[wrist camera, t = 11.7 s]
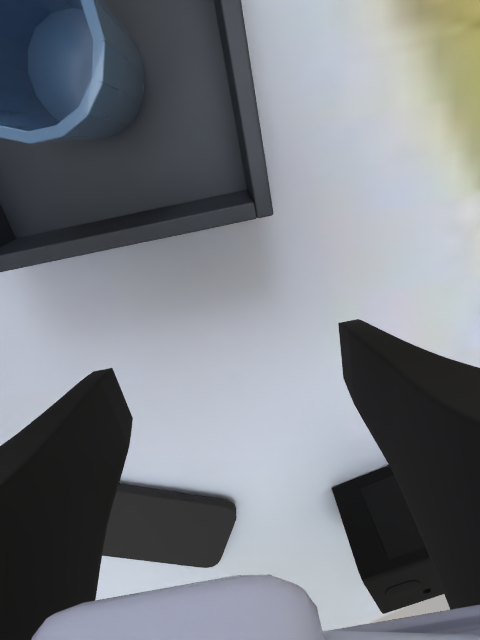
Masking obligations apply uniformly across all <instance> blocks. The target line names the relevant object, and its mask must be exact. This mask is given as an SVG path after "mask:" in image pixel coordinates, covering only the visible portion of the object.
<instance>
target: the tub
mask: <svg viewBox="0 0 480 640" xmlns="http://www.w3.org/2000/svg"><path fill="white" fill-rule="evenodd" d="M104 2H105V3H106V4H107V5H108V6H109V8H110V9H111V10H112V11H113V12H114V14H115V15H116V16H117V17H118V18H119V20H120V21H121V22H122V24H123V25H124V27H125V28H126V30H127V31H128V33H129V34H130V35H131V37H132V38H133V40H134V42H135V44H136V45H137V48H138V50H139V52H140V55H141V58H142V62H143V66H144V71H145V94H144V99H143V103H142V106H141V109H140V111H139V113H138V115H137V117H136V118H135V120H134V121H133V122H132V124H131V125H130V126H129V127H128V128H127V129H126V130H124V131H123V132H121V133H120V134H118V135H116V136H114V137H111V138H108V139H103V140H97V141H88V142H65V143H41V144H28V143H23V142H18V141H13V140H8V139H3V138H0V272H3V271H8V270H13V269H18V268H22V267H27V266H32V265H37V264H42V263H46V262H51V261H56V260H61V259H65V258H70V257H75V256H80V255H85V254H89V253H94V252H99V251H104V250H109V249H113V248H118V247H123V246H128V245H133V244H137V243H142V242H147V241H152V240H157V239H161V238H166V237H171V236H176V235H181V234H185V233H190V232H195V231H200V230H204V229H209V228H214V227H219V226H224V225H228V224H233V223H238V222H243V221H248V220H252V219H256V218H262V217H266V216H271V215H273V208H272V201H271V195H270V188H269V182H268V175H267V168H266V162H265V155H264V149H263V142H262V136H261V129H260V123H259V116H258V110H257V103H256V96H255V90H254V83H253V77H252V70H251V64H250V57H249V51H248V44H247V38H246V31H245V24H244V18H243V11H242V5H241V0H104Z"/></svg>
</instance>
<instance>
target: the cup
mask: <svg viewBox="0 0 480 640" xmlns="http://www.w3.org/2000/svg"><path fill="white" fill-rule="evenodd" d="M144 94H145V71H144V66H143V62H142V58H141V55H140V52H139V50H138V48H137V45H136V44H135V42H134V40H133V38H132V37H131V35H130V34H129V33H128V31H127V30H126V28H125V27H124V25H123V24H122V22H121V21H120V20H119V18H118V17H117V16H116V15H115V14H114V12H113V11H112V10H111V9H110V8H109V6H108V5H107V4H106V3H105V2H104V0H0V138H3V139H8V140H13V141H18V142H23V143H28V144H41V143H65V142H88V141H97V140H103V139H108V138H111V137H114V136H116V135H118V134H120V133H121V132H123V131H124V130H126V129H127V128H128V127H129V126H130V125H131V124H132V122H133V121H134V120H135V118H136V117H137V115H138V113H139V111H140V109H141V106H142V103H143V99H144Z"/></svg>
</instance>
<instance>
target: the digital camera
mask: <svg viewBox="0 0 480 640" xmlns="http://www.w3.org/2000/svg"><path fill="white" fill-rule="evenodd" d="M332 491H333V494H334V497H335V500H336V503H337V506H338V509H339V512H340V515H341V519H342V522H343V525H344V528H345V531H346V534H347V537H348V540H349V543H350V547H351V550H352V553H353V556H354V559H355V562H356V565H357V568H358V571H359V574H360V576H361V579H362V581H363V583H364V585H365V586H366V588H367V589H368V591H369V593H370V594H371V596H372V598H373V599H374V601H375V602H376V604H377V606H378V607H379V609H380V611H381V612H382V613H383V614H384V613H387V612H390V611H393V610H397V609H400V608H403V607H406V606H409V605H412V604H415V603H418V602H421V601H424V600H427V599H430V598H433V597H435V596H439V595H442V594H444V591H443V589H442V586H441V584H440V581H439V579H438V576H437V574H436V571H435V569H434V566H433V564H432V562H431V559H430V557H429V554H428V552H427V549H426V547H425V544H424V542H423V539H422V537H421V535H420V532H419V530H418V528H417V525H416V523H415V521H414V518H413V516H412V514H411V511H410V509H409V507H408V504H407V502H406V500H405V498H404V495H403V493H402V491H401V489H400V486H399V484H398V482H397V480H396V478H395V475H394V473H393V471H392V470H391V468H390V466H387V467H385V468H382V469H379V470H377V471H374V472H372V473H369V474H367V475H364V476H362V477H359V478H356V479H354V480H351V481H349V482H346V483H344V484H341V485H339V486H336V487H333V488H332Z"/></svg>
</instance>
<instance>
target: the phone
mask: <svg viewBox="0 0 480 640" xmlns="http://www.w3.org/2000/svg"><path fill="white" fill-rule="evenodd" d="M235 521H236V507H235V505H234V504H233V503H232V502H230V501H227V500H224V499H218V498H211V497H204V496H198V495H191V494H184V493H178V492H171V491H164V490H157V489H151V488H144V487H137V486H131V485H124V484H119V485H118V488H117V491H116V495H115V498H114V502H113V505H112V509H111V512H110V516H109V521H108V525H107V529H106V535H105V541H104V546H103V552H102V556H111V557H119V558H127V559H135V560H144V561H152V562H160V563H168V564H177V565H185V566H193V567H202V568H208V567H213V566H215V565H216V564H218V563H219V561H220V560H221V557H222V555H223V552H224V549H225V547H226V544H227V542H228V539H229V537H230V534H231V531H232V529H233V526H234V523H235Z"/></svg>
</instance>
